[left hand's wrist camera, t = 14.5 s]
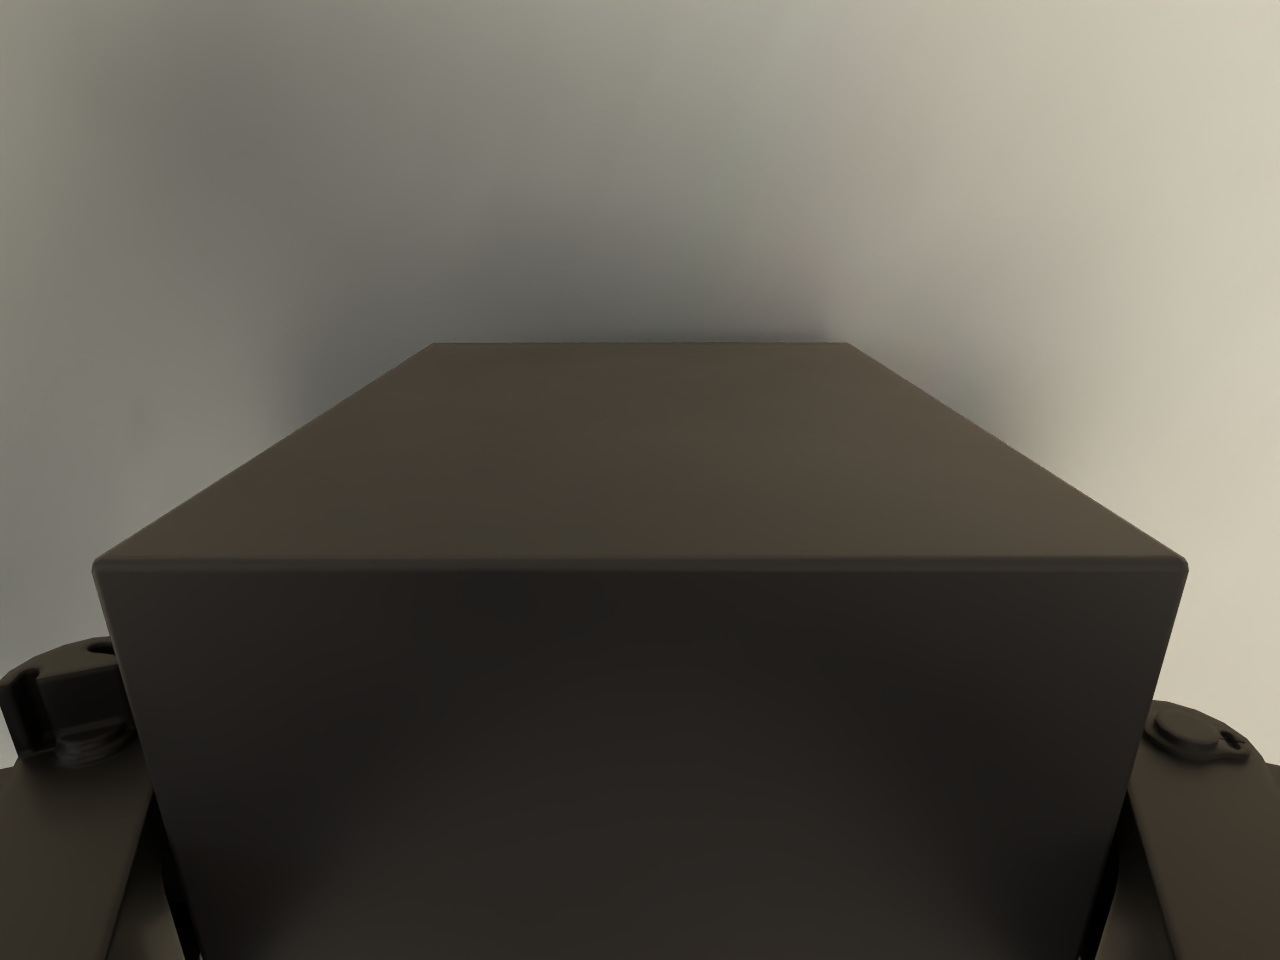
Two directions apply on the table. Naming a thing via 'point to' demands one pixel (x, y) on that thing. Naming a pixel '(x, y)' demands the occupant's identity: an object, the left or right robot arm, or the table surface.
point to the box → (640, 669)
